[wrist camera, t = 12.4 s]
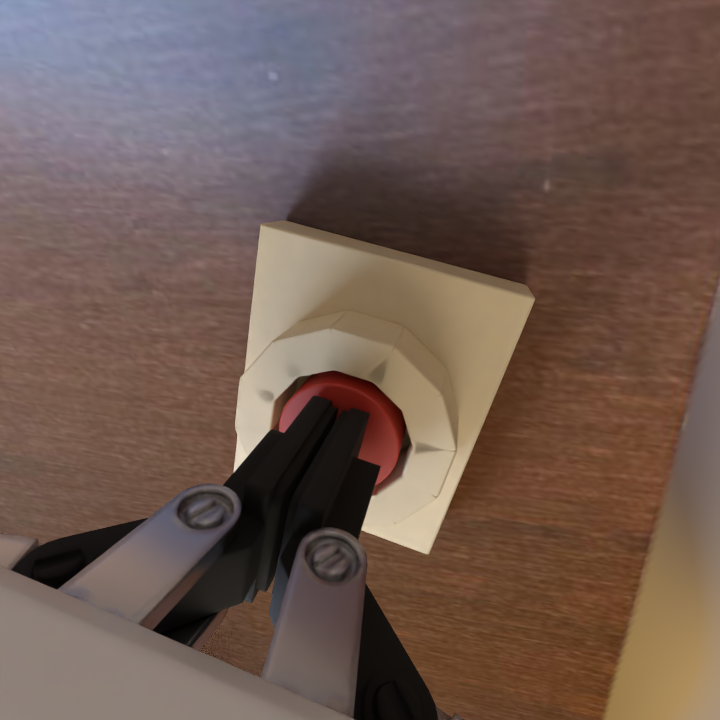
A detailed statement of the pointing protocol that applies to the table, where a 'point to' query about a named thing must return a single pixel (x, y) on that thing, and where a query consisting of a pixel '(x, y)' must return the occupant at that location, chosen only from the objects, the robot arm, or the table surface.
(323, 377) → the button
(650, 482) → the table surface
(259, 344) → the button box
